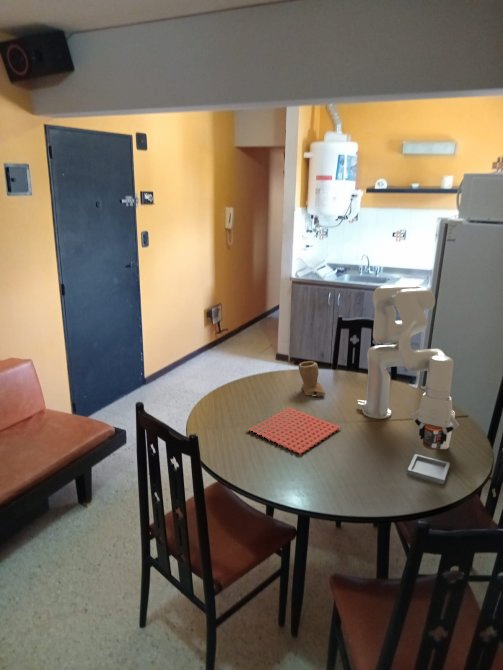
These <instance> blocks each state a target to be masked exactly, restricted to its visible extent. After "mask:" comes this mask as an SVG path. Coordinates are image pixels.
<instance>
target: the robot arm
mask: <svg viewBox="0 0 503 670" xmlns="http://www.w3.org/2000/svg"><path fill="white" fill-rule="evenodd" d="M374 289H375V290H374V291H373V294H372V302H373V307H374V319H373V329H372V338H373V341H374V342H375V343H377V344H379V345H374V346H373V345H372V346H371V347H369V349H367V352H366V355H367V357H366V358H367V371H368V372H367V387H366V400H361V399H357V402H356V403H357V406H358V407H362V409H361V413H362V414H363V415H364V416H366V417H368V418H371V419H375V420H376V419H377V420H384V419H388V418H390V417H391V415H392V410H391V409H390V408H389V402H390V401H389V399H390V387H391V374H390V373H389V372H388V371H387V368H390V367H391V368H392V367H403V366H404V367H405V369H407V370H408V371H410V372H425V371H426V372H427V377H426V385H421V391H424V393H423V394H422V396H421V400H420V404H419V409H417V410H416V411H415V412H413V413H411V415H410V417H411V419H412V420H413V421H414V423H415V424H416V425H417V426H418V428H419V431H418V436H419V437H420V440H423V435H424V426H425V424H429V425H434V426H438V427H442V429H443V432H442V436H441V444H442V445H443V443H444V441H445V442H446V438H447V433H449V432H451V431H452V432H453V430H455V429H456V430H457V428H459V426H460V424H459V422H458V421H457V420H456V419H454V418H453V416H452V410H453V402H452V401H453V400H452V397H451V396H450V394H451V388H452V380H453V371H454V360H453V359H452V358H451V357H450V356H448V355H446V354H445V351H444V350H443V349H441V348H420V349H418V348H417V349H413V348H412V346H411V344H412V337H413V336H415V335H418V334H419V333H421V332H423V331H424V330H425V329H426V328H427V327H428V325H429V321H428V318H427V316H426V313H425V311H431V310H432V309H433V308H434V307H435V304H436V298H435V294H434V292H432V290H430V288H428V287H425V286H422V285H421V286H420V285H417V284H395V285H394V284H388V285H382V286H381V285H380V286H377V288H374ZM395 307H396V308H395ZM397 312H398V315H399V319H400V320H396V317H397ZM450 422H451V423H452V424H453V425H452V426H449V425H450Z"/></svg>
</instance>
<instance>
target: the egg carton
mask: <svg viewBox="0 0 503 670" xmlns="http://www.w3.org/2000/svg"><path fill="white" fill-rule="evenodd" d="M286 408H287V410H292V411H287V410H286V409H283V410H284V411H283V412H282V410H281V411H279V412H280V413H279V412H278V413H275V414H276V415H275V414H273V415H271V416H272V417H271V416H269V417H267V418H269V419H268V420H265V421H264V420H263V421H264V422H263V421H262V423H263V424H265V425H264V426H262V425H261V424H262V423H260V422H259V423H260V424H259V423H258V424H257V423H256V424H257V426H261V428H258V427H257V426H255V425H252V426H253V428H257V430H253V428H251V427H248V428H249V429H248V428H247V429H248V430H247V431H249V430H252V431H253V432H252V433H254V432H256V433H257V434H256V435H258V436H259V435H262V436H261V437H263V438H264V437H266V439H267V440H268V441H269V440H271V441H272V442H273V443H274V442H276V443H277V445H278V446H279V445H280V446H282V447H283V448H284V447H285V449H286V448H287V449H288V450H290V451H293V452H296V453H298V454H299V456H300V455H301V456H302V453H304V452H305V453H306V452H307V451H308V450H309V451H310V448H312V447H313V448H314V445H315V446H316V445H318V443H320V444H321V441H323V440H324V441H325V438H326V439H328V438H329V436H330V437H332V434H334V433H336V432H339V429H341V426H340V425H335V423H331V422H329V421H326V420H325V419H320V417H315V416H311V415H310V414H309V413H308V414H307V413H305V412H302V411H300V410H297V409H295V408H294V409H293V408H292V407H286ZM291 408H292V409H291ZM296 410H297V411H296ZM284 412H288V413H284ZM293 412H295V413H293ZM281 414H284V415H281ZM289 414H292V415H289ZM297 414H300V415H297ZM277 416H280V417H277ZM285 416H289V417H285ZM294 416H296V417H294ZM302 416H304V417H302ZM270 417H271V418H270ZM291 417H292V418H293V419H290V418H291ZM273 418H277V419H273ZM282 418H285V419H282ZM299 418H301V419H299ZM287 419H288V420H289V421H286V420H287ZM269 420H273V421H269ZM278 420H281V421H278ZM295 420H297V421H295ZM304 420H305V421H304ZM266 421H268V422H269V423H265V422H266ZM274 422H277V423H274ZM282 422H285V423H282ZM291 422H294V423H291ZM300 422H302V423H300ZM270 424H273V425H270ZM279 424H282V425H279ZM287 424H290V425H287ZM296 424H298V425H296ZM305 424H306V425H305ZM266 426H269V427H268V428H267V427H266ZM275 426H278V427H275ZM283 426H286V427H283ZM292 426H295V427H292ZM301 426H303V427H301ZM262 428H265V430H262ZM272 428H273V430H272ZM280 428H282V429H280ZM288 428H291V429H288ZM297 428H299V429H297ZM306 428H307V429H306ZM258 430H261V432H258ZM268 430H269V431H270V432H267V431H268ZM276 430H277V431H278V432H276ZM285 430H286V431H285ZM293 430H295V431H293ZM263 432H264V433H266V434H263ZM272 433H274V434H272ZM281 433H283V434H281ZM268 435H270V436H268ZM277 435H279V436H277ZM286 435H288V436H286ZM273 437H274V438H273ZM282 437H284V438H282ZM291 437H292V438H291ZM300 437H301V438H300ZM283 442H285V443H283ZM276 443H275V444H276Z"/></svg>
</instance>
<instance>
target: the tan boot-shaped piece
mask: <svg viewBox="0 0 503 670" xmlns="http://www.w3.org/2000/svg"><path fill="white" fill-rule="evenodd" d="M298 373H299V375H300V377H301V381H302V384H301V388H302V390H303V392H304V393H305V395H307V396H310V395H316V396H318V397H322V396H325V395H326V391H325V389H324V388H323V386H322V384H321V383H319V382H318V377H319V366H318V363H317V362H315V361H313V360H308V361H303V362H300V363H299V364H298Z"/></svg>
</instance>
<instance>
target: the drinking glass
mask: <svg viewBox="0 0 503 670" xmlns="http://www.w3.org/2000/svg"><path fill="white" fill-rule="evenodd" d="M452 416H453V418H454V419H455V418H456V412H455V411H454V410H453V409H452ZM455 420H456V419H455ZM452 425H453V424H452V423H451V422H450V425H449V426H452ZM452 433H453V430H452V431H451V432H449V433H447V438H446V442H445V441H444V443H443V445H442V444H441V447H440V449H439V450H448V449H449V447H450V441H451V437H452Z"/></svg>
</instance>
